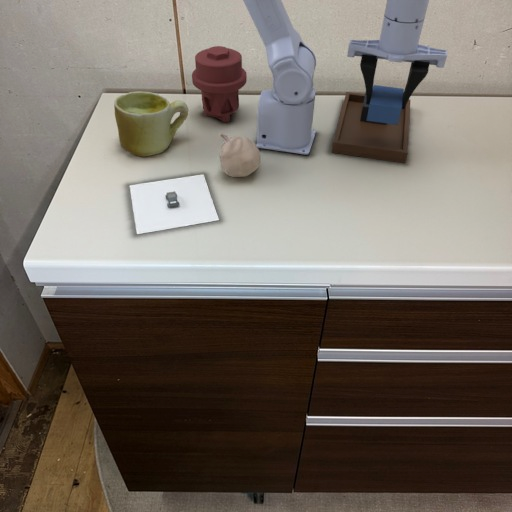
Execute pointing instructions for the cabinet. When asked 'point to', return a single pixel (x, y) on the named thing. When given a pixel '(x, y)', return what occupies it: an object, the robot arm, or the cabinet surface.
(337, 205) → the cabinet surface
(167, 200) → the white paper sheet
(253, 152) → the garlic bulb
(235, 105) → the mechanical component
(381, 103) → the blue block
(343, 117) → the tray
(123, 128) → the mug
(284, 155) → the cabinet surface
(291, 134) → the robot arm
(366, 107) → the charcoal block
